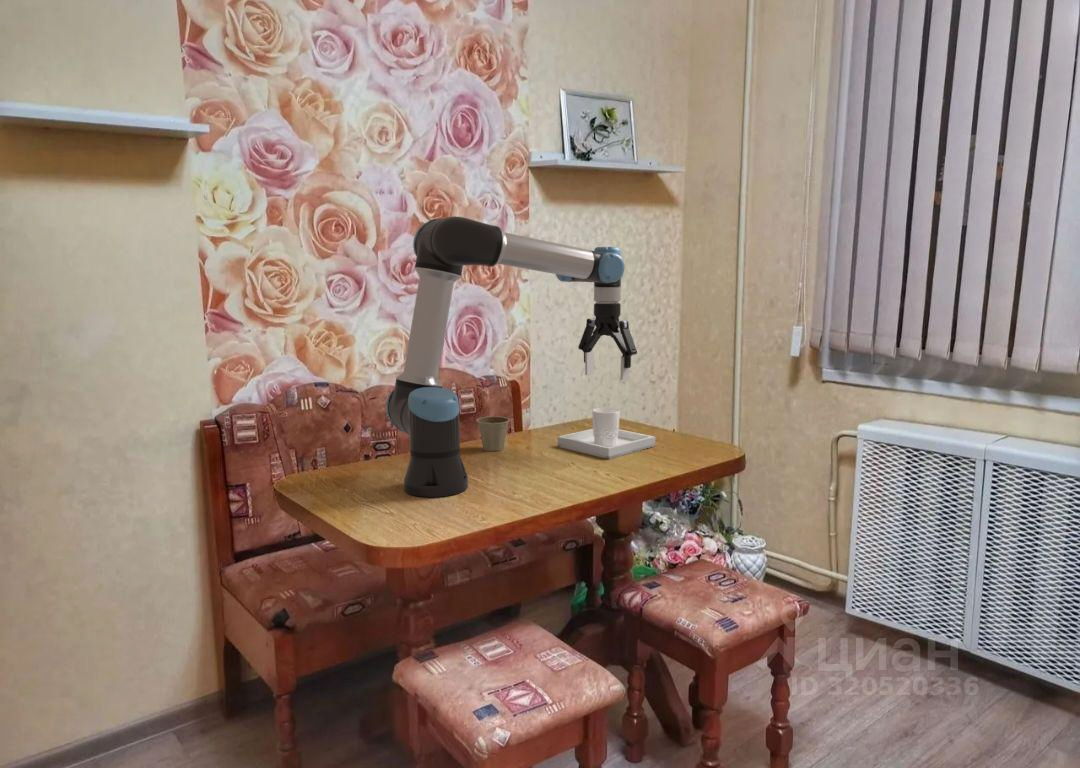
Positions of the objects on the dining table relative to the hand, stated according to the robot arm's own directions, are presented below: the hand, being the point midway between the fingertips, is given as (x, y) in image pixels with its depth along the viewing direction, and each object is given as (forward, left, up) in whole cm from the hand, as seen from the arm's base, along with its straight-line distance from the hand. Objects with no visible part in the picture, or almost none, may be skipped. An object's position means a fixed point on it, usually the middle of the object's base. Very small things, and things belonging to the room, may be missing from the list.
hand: (606, 377), depth 213 cm
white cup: (0, 0, -20) cm, 20 cm away
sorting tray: (0, 0, -20) cm, 21 cm away
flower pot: (-25, +21, -21) cm, 39 cm away
